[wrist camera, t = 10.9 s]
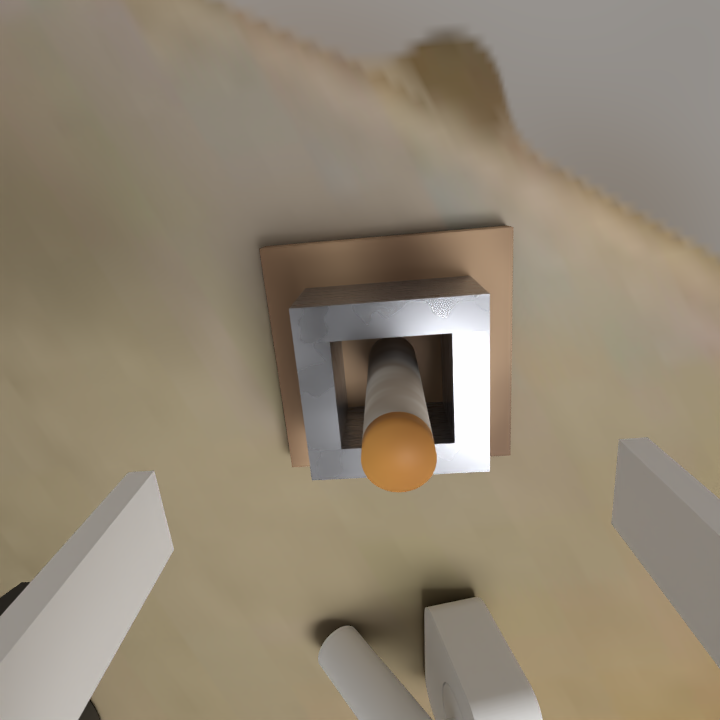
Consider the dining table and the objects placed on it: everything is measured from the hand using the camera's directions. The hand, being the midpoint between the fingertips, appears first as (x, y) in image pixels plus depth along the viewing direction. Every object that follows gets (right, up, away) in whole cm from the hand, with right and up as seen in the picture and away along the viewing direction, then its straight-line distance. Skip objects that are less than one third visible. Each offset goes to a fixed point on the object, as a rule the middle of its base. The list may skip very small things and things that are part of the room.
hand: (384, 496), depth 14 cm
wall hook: (+3, -14, +19) cm, 24 cm away
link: (+1, +4, +11) cm, 12 cm away
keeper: (+1, +4, +12) cm, 13 cm away
